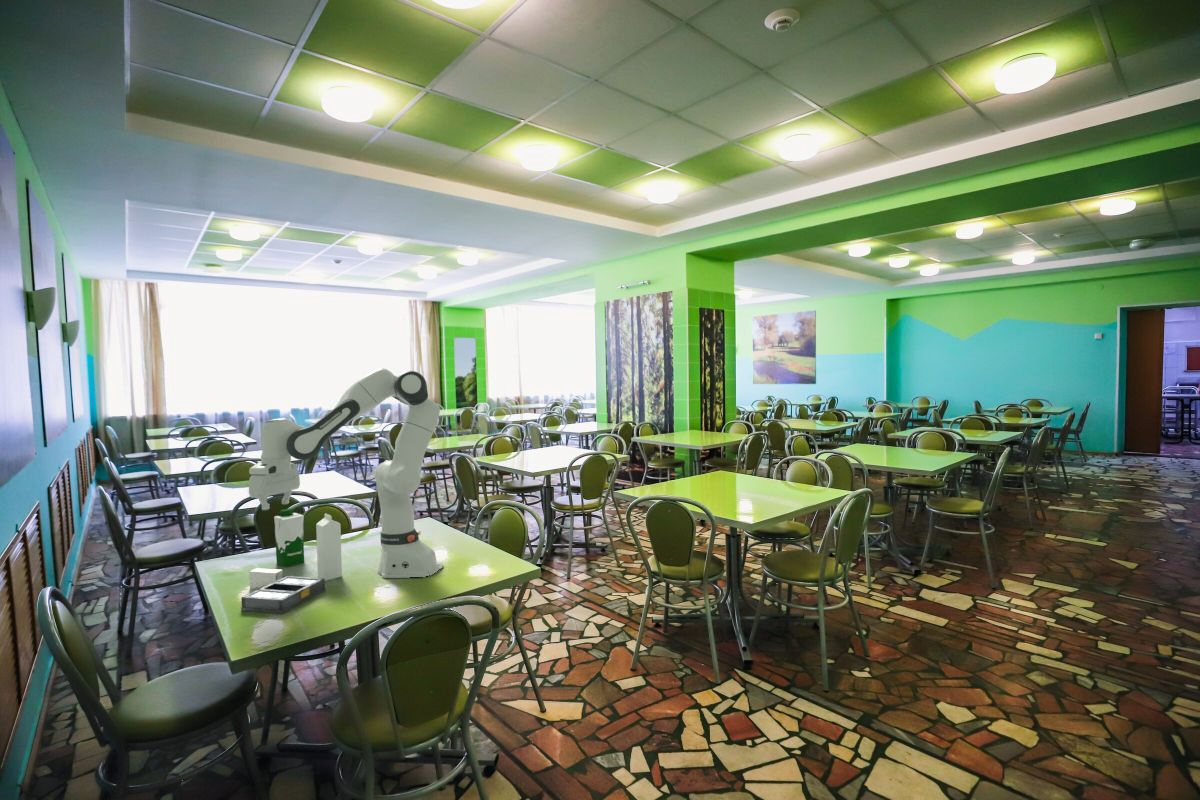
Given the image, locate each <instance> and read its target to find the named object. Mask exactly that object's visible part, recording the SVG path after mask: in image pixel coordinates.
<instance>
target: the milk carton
mask: <svg viewBox="0 0 1200 800" xmlns="http://www.w3.org/2000/svg"><path fill="white" fill-rule="evenodd" d="M279 513H280V515H279V514H278V515H275V516H274V517H273V518H274V519H273V520H274V532H275V533H274V535H275V555H276V557H275V558H276V565H278V566H281V567H284V568H288V567H291V566H295V565H300V564H302V563H305V544H304V543H305V542H304V519H305V515H303V514H301V513H298V512H293V508H284V509H280V511H279Z"/></svg>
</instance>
